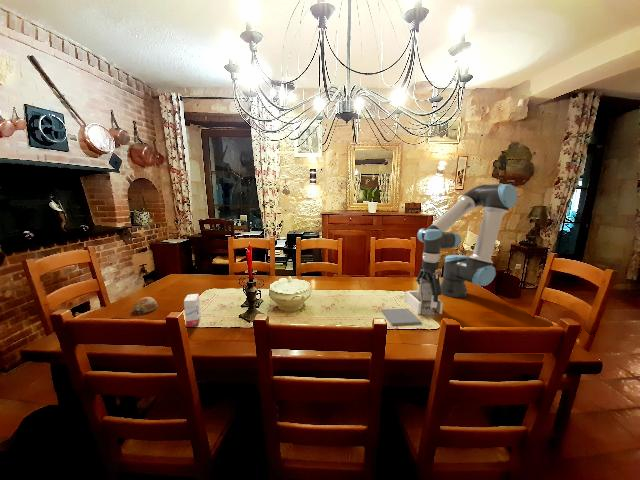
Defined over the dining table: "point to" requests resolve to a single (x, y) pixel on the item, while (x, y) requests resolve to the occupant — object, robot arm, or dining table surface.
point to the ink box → (192, 309)
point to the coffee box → (426, 297)
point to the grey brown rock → (145, 305)
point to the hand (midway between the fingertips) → (426, 301)
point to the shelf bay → (414, 302)
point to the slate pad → (400, 316)
